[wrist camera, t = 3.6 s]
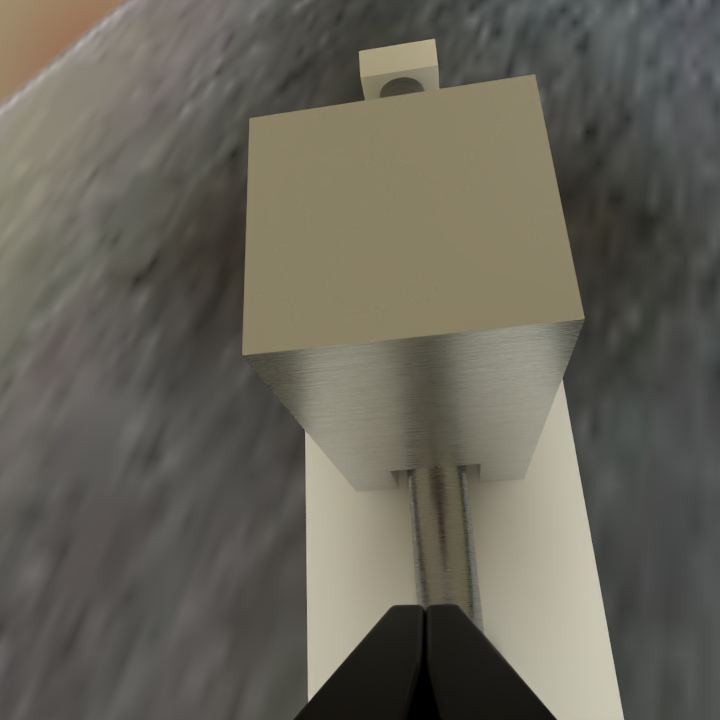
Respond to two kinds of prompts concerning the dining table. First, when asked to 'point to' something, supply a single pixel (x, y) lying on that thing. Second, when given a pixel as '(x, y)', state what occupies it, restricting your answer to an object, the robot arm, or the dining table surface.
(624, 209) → the dining table surface
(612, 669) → the base board
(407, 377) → the beige tall block
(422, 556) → the steel pipe
